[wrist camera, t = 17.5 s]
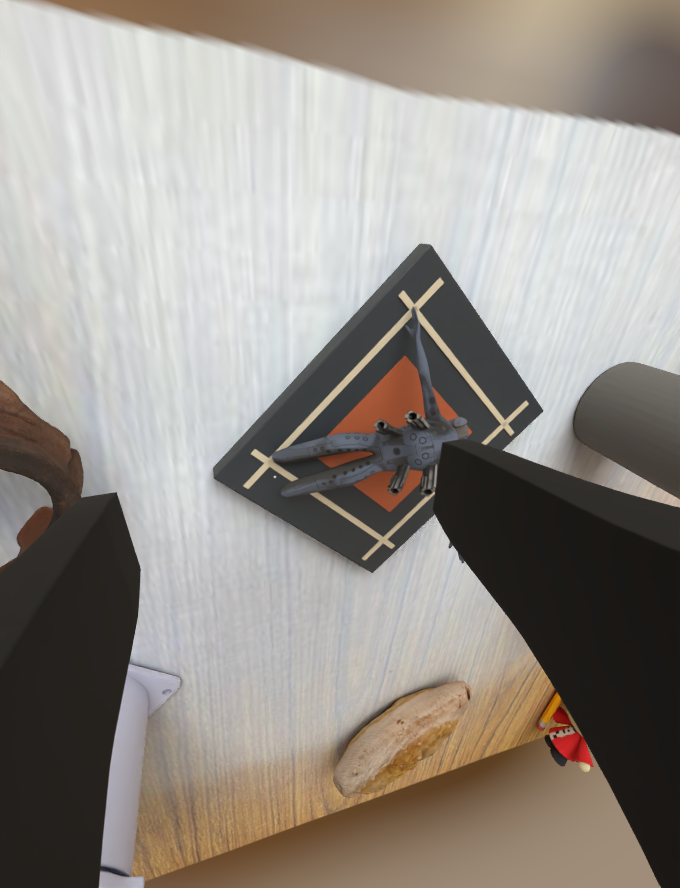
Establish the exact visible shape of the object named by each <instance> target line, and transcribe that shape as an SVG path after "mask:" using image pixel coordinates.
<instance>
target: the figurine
mask: <svg viewBox="0 0 680 888" xmlns="http://www.w3.org/2000/svg"><path fill="white" fill-rule="evenodd" d="M412 308H413V309H411V313H412V318H413V324H414V326H413V329H410V328H409V327H408V326H407V325H405V328H406V329H407V330H408V332H409V334H410V336H411V337H412V338H413V339H414V343H415V349H416V359H417V368H418V374H419V378H420V382H421V388H422V395H423V404H424V412H425V418H423V417H422V416H421V415H420V414H417V413H416V412H413V411H412V410H409V411H408V414H405V419H406V420H407V423H408V424H407V425H405V426H402V427H400V428H397V427H393V426H391V425H390V424H389V423H387V422H386V421H384V420H382V419H379V420H377V423H374V427H375V429H376V430H375V431H376V432H374V433H371V434H366V433H338V434H334V435H331V436H327V437H323V438H319V439H316V440H312V441H308V442H305V443H301V444H297V445H294V446H290V447H287V448H284V449H281V450H278V451H275V452H274V454H273V455H272V459H273V461H274V462H279V463H293V462H298V461H303V460H308V459H314V458H319V457H325V456H330V455H336V454H342V453H348V452H362V451H365V452H371V453H373V455H370V456H367V457H363V458H359V459H356V460H353V461H350V462H347V463H344V464H341V465H338V466H336V467H333V468H330V469H327V470H324V471H321V472H318V473H314V474H311V475H308V476H305V477H303V478H300V479H297V480H294V481H292V482H289V483H287V484H286V485H284V487H283V488H282V489H281V495H283V496H285V497H292V496H298V495H305V494H310V493H315V492H320V491H325V490H330V489H335V488H340V487H345V486H349V485H353V484H355V483H358V482H360V481H362V480H364V479H366V478H368V477H369V476H371V475H373V474H375V473H376V472H381V471H393V472H394V471H396V473H395V475H393V476H392V478H391V480H390V483H389V485H388V488H389V489H388V492H389V494H392V495H395V496H396V495H397V494H398V493H399V492H401V491H402V489H403V486H404V483H405V481H406V478H407V476H408V473H409V470H410V469H411V470H416V471H423V472H422V477H421V481H420V494H421V495H425V496H426V497H429V496H430V495H431V494H432V493H433V492H435V489H436V479H437V475H438V468H439V461H440V454H441V448H442V442H446V441H453V440H459V439H467V438H468V437H469V436H470V435H469V434H468V426H467V425H466V424H467V420H466V419H464V418H462V417H457V418H455V419H452V420H450V421H447V420H446V419H445V418H444V417H443V416H442V415H441V413H440V411H439V408H438V405H437V401H436V398H435V395H434V391H433V388H432V384H431V379H430V373H429V367H428V362H427V358H426V355H425V352H424V349H423V346H422V344H421V340H420V323H419V320H418V316H417V312H416V310H415V307H412ZM274 478H276V476H274ZM451 546H452V543H451V542H450V544H449V548H451ZM458 555H459V559H460V560H461V562H462V563H464V559H463V558H462V557H461V555H460V554H459V553H458Z"/></svg>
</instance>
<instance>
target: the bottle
mask: <svg viewBox="0 0 680 888" xmlns="http://www.w3.org/2000/svg"><path fill="white" fill-rule="evenodd" d="M574 429H575V433H576V435H577V437H578V439H579V440H580V441H581V442H582V443H584V444H585V445H587V446H589V447H590V448H592V449H593V450H595V451H597V452H598V453H600V454H602V455H604V456H605V457H607V458H609V459H611V460H612V461H614V462H616V463H618V464H619V465H621V466H623V467H625V468H626V469H628V470H630V471H631V472H633V473H635V474H637V475H638V476H640V477H642V478H644V479H645V480H647V481H649V482H651V483H652V484H654V485H656V486H657V487H659V488H661V489H663V490H664V491H666V492H668V493H670V494H672V495H673V496H675V497H677V498H679V499H680V375H676V374H673V373H670V372H667V371H663V370H660V369H657V368H653V367H650V366H647V365H644V364H640V363H635V362H626V363H622V364H619V365H616V366H614V367H612V368H610V369H609V370H607V371H606V372H604V373H603V374H602V375H600V376H599V377H598V378H597V379H596V380H595V381H594V382H593V383H592V384H591V386H590V387H589V388H588V389H587V391H586V392H585V394H584V395H583V397H582V399H581V401H580V403H579V405H578V407H577V411H576V414H575V419H574Z"/></svg>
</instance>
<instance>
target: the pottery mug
mask: <svg viewBox="0 0 680 888" xmlns="http://www.w3.org/2000/svg"><path fill="white" fill-rule="evenodd" d="M0 469H2V470H5V471H8V472H13V473H16V474H20V475H23V476H26V477H28V478H30V479H33V480H34V481H36V482H38V483H40V484H41V485H42V486H43V487H44V488H45V489H46V490H47V492H48V493H49V495H50V496H51V499H52V503H53V509H52V508H48V507H41V508H40V509H38V510H37V511H36V512H35V513H34V514H33V515H32V517H31V518H30V519H29V520H28V521H27V522H26V524H25V525H24V526H23V527H22V528H21V530H20V532H19V533H18V535H17V542H18V544H19V546H20V547H21V549H20V552H19V554H18V556H19V555H20V554H22V553H23V552H24V551H25V550H26V549H27V548H28V547H29V546H30V545H31V544H32V543H33V542H34V541H36V540H37V539H38V538H39V537H40V536H41V535H42V534H43V533H44V532H45V531H46V530H47V529H48V528H49V527H50V526H51V525H52V524H53V523H54V522H55V521H57V520H58V519H59V518H60V517H61V516H62V515H63V514H64V513H65V512H66V511H67V510H68V509H69V508H70V507H72V506H73V505H74V504H75V503H76V502H77V501H78V500H80V499H81V493H82V487H83V468H82V463H81V458H80V455H79V453H78V451H77V450H75V449H70V441H69V439H68V437H67V436H66V435H64V434H63V433H62V432H61V431H60V430H58V429H57V428H55V427H53V426H51V425H50V424H49V423H47V422H45V421H44V420H42V419H41V418H39V417H38V416H37V415H36V414H35V413H34V412H33V411H31V410H30V409H29V408H28V407H27V406H26V405H25V404H24V403H23V402H22V401H21V400H20V398H19V397H18V396H17V394H16V393H15V392H13V391H12V390H11V389H10V388H9V387H8V386H7V385H5V384H4V383H3V382H2V381H0ZM18 556H17V557H18ZM17 557H16V558H17ZM16 558H15V559H16ZM15 559H13V560H11V561H10V562H8V563H7V564H5V565H4V566H2V567H0V573H1V572H2V571H3V570H4V569H5V568H7V567H8V566H9V565H10V564H11V563H12V562H13V561H14V560H15Z"/></svg>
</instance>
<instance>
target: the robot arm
mask: <svg viewBox="0 0 680 888" xmlns="http://www.w3.org/2000/svg"><path fill="white" fill-rule="evenodd" d="M433 512H434V513H435V515H436V517H437V519H438V521H439V523H440V525H441V526H442V528H443V530H444V532H445V533H446V535H447V537H448V538H449V540H450V542H451V543H452V545H453V546H454V547H455V549H456V550H457V551H458V553H459V554H460V555H461V557H462V558H463V559H464V561H465V562H466V563H467V565H468V566H469V567H470V569H471V570H472V571H473V572H474V574H475V575H476V576H477V578H478V579H479V580H480V581H481V583H482V584H483V585H484V587H485V588H486V589H487V590H488V592H489V593H490V594H491V596H492V597H493V598H494V599H495V601H496V602H497V603H498V605H499V606H500V607H501V608H502V610H503V611H504V612H505V614H506V615H507V616H508V617H509V619H510V620H511V621H512V623H513V624H514V626H515V627H516V628H517V630H518V631H519V633H520V634H521V635H522V637H523V638H524V640H525V641H526V643H527V645H528V646H529V648H530V649H531V651H532V653H533V654H534V656H535V657H536V659H537V660H538V662H539V664H540V665H541V667H542V668H543V670H544V671H545V673H546V675H547V676H548V678H549V679H550V681H551V683H552V684H553V686H554V688H555V690H556V691H557V693H558V695H559V696H560V698H561V700H562V701H563V703H564V705H565V706H566V708H567V710H568V711H569V713H570V715H571V717H572V718H573V720H574V722H575V723H576V725H577V727H578V729H579V730H580V732H581V734H582V736H583V738H584V739H585V741H586V743H587V745H588V747H589V749H590V750H591V752H592V754H593V756H594V758H595V759H596V761H597V763H598V765H599V767H600V769H601V770H602V772H603V774H604V776H605V778H606V779H607V781H608V783H609V785H610V787H611V789H612V791H613V793H614V794H615V797H616V798H617V801H618V803H619V805H620V806H621V809H622V811H623V813H624V814H625V816H626V818H627V820H628V822H629V824H630V826H631V828H632V830H633V832H634V834H635V836H636V838H637V840H638V842H639V844H640V846H641V848H642V850H643V852H644V854H645V856H646V858H647V860H648V863H649V865H650V867H651V869H652V871H653V873H654V875H655V877H656V879H657V881H658V883H659V885H660V886H661V888H680V508H679V507H674V506H671V505H667V504H663V503H659V502H656V501H652V500H648V499H644V498H641V497H637V496H633V495H630V494H626V493H623V492H620V491H616V490H613V489H610V488H607V487H604V486H601V485H597V484H594V483H591V482H588V481H585V480H582V479H579V478H576V477H573V476H571V475H568V474H565V473H562V472H559V471H556V470H554V469H551V468H548V467H545V466H543V465H540V464H537V463H535V462H532V461H529V460H527V459H524V458H521V457H518V456H516V455H513V454H510V453H508V452H505V451H502V450H499V449H497V448H494V447H491V446H488V445H485V444H482V443H479V442H475V441H471V440H467V439H459V440H453V441H446V442H442V448H441V454H440V461H439V468H438V475H437V482H436V489H435V496H434V503H433ZM140 572H141V569H140V565H139V562H138V559H137V556H136V553H135V550H134V546H133V543H132V540H131V537H130V534H129V530H128V527H127V524H126V521H125V518H124V515H123V511H122V508H121V505H120V502H119V499H118V496H117V492H116V493H109V494H103V495H96V496H90V497H83V498H81V499H80V500H78V501H77V502H76V503H75V504H74V505H73V506H72V507H70V508H69V509H68V510H67V511H66V512H65V513H64V514H63V515H62V516H61V517H60V518H59V519H58V520H57V521H55V522H54V523H53V524H52V525H51V526H50V527H49V528H48V529H47V530H46V531H45V532H44V533H43V534H42V535H41V536H40V537H39V538H38V539H37V540H36V541H34V542H33V543H32V544H31V545H30V546H29V547H28V548H27V549H26V550H25V551H24V552H23V553H22V554H20V555H19V556H18V557H17V558H16V559H15V560H14V561H13V562H12V563H11V564H10V565H9V566H8V567H7V568H5V569H4V570H3V571H2V572H1V573H0V888H144V880H145V877H144V876H136V877H132V872H133V862H134V852H135V841H136V831H137V821H138V811H139V800H140V790H141V780H142V770H143V759H144V749H145V739H146V728H147V719H148V718H149V717H150V716H151V715H152V714H153V713H154V712H155V711H156V710H157V709H158V708H159V707H160V706H161V705H162V704H163V703H164V702H165V701H166V700H167V699H168V698H170V697H171V696H172V695H173V694H174V693H175V692H176V691H177V690H178V689H179V687H180V683H181V679H180V678H179V677H176V676H173V675H169V674H165V673H161V672H157V671H154V670H150V669H146V668H142V667H139V666H135V665H131V664H129V661H130V656H131V651H132V645H133V640H134V635H135V629H136V624H137V618H138V608H139V593H140Z"/></svg>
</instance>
